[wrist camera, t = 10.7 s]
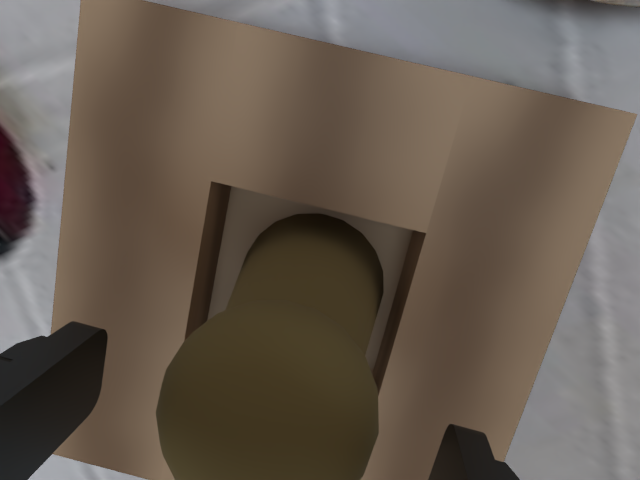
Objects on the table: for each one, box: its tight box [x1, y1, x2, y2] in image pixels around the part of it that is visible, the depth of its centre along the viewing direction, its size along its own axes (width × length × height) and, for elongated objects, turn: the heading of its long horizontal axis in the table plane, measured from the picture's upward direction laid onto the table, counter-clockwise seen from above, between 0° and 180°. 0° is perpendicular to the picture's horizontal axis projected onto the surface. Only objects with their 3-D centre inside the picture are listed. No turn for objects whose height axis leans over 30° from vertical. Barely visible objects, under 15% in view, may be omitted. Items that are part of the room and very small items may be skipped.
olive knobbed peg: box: [156, 213, 383, 480], centre depth 15 cm, size 6×6×11 cm
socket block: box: [51, 0, 637, 480], centre depth 20 cm, size 18×18×4 cm
